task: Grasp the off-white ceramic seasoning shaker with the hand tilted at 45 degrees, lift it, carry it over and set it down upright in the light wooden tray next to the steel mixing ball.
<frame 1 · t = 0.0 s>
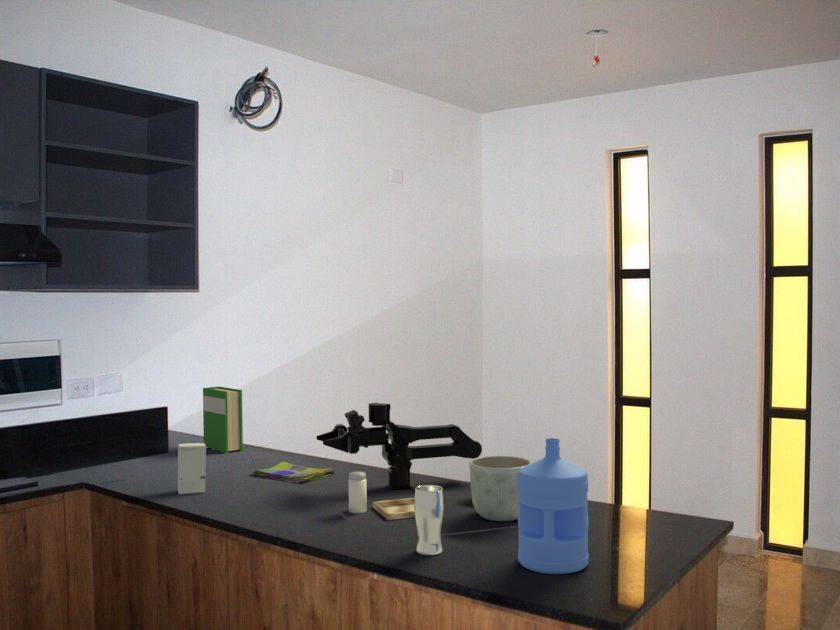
hand: (319, 440, 245), 17 cm above the counter, tool horizontal, fingers open, 9 cm apart
water jug: (553, 564, 180), on the counter
ball: (420, 512, 221), resting on tray
hardback book: (223, 449, 319), on the counter
beer glass: (429, 552, 190), on the counter
skincare box: (192, 492, 250), on the counter
dish towel: (293, 476, 272), on the counter
planter: (500, 518, 218), on the counter
shaker: (357, 512, 224), on the counter
tray: (404, 512, 223), on the counter
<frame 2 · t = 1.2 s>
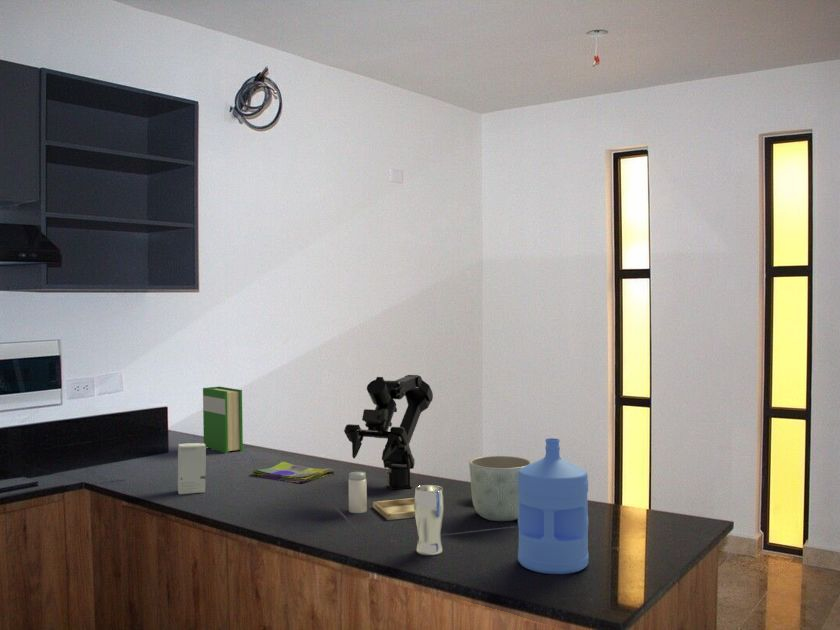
hand: (367, 458, 231), 14 cm above the counter, tool tilted 45°, fingers open, 9 cm apart
nothing on the counter moved.
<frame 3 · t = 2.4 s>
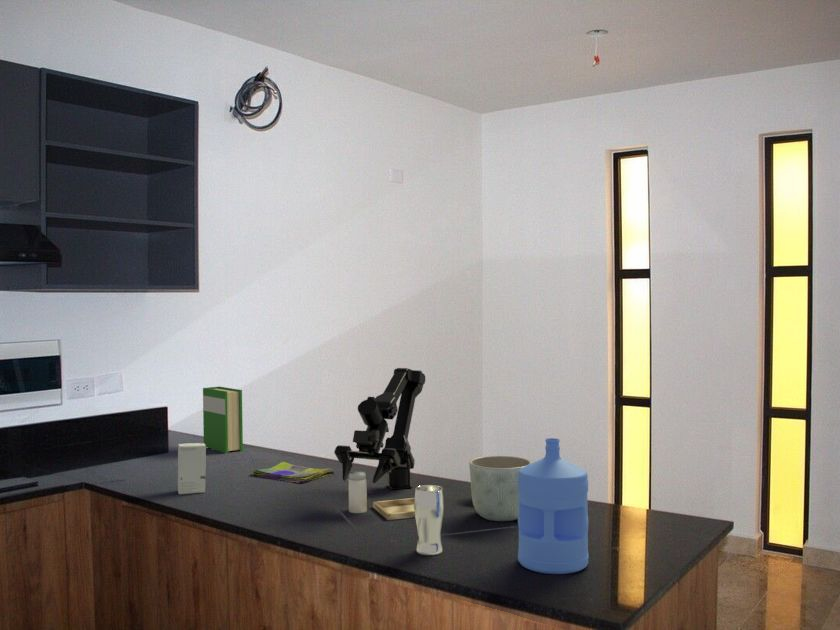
hand: (358, 481, 225), 9 cm above the counter, tool tilted 45°, fingers open, 9 cm apart
nothing on the counter moved.
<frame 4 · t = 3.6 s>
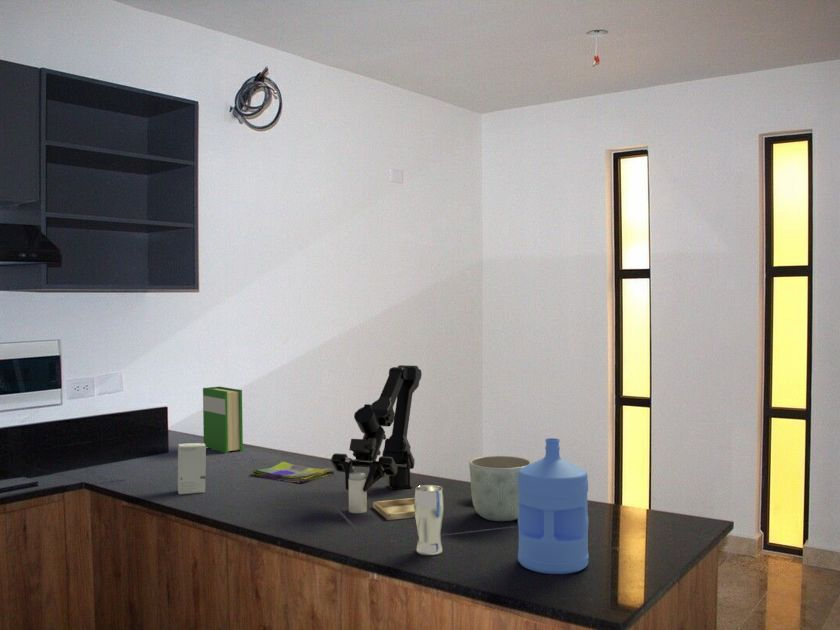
hand: (355, 490, 223), 7 cm above the counter, tool tilted 45°, fingers closed on shaker, 5 cm apart
shaker: (357, 512, 224), on the counter, touching gripper
everything else where it was.
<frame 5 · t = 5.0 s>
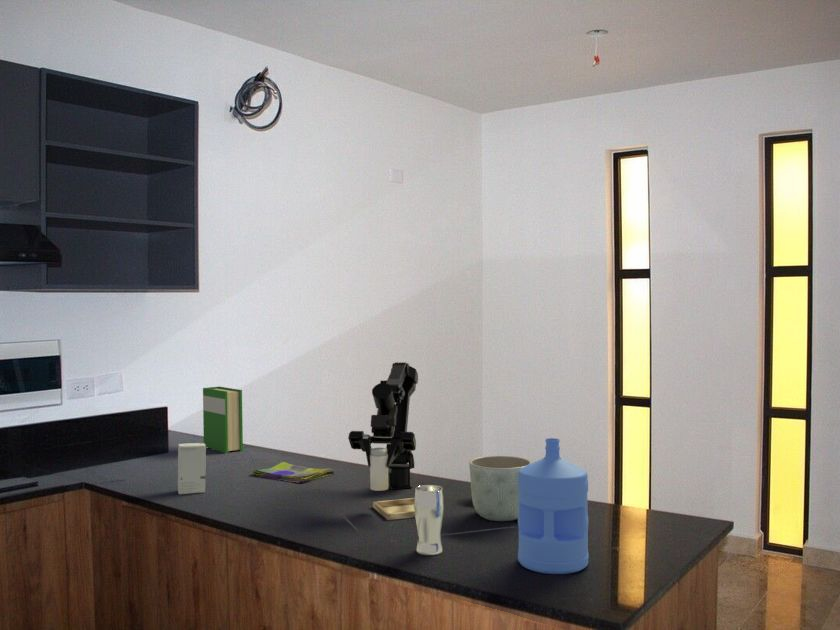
hand: (378, 466, 222), 13 cm above the counter, tool tilted 45°, fingers closed on shaker, 5 cm apart
shaker: (379, 488, 224), point 7 cm above the counter, touching gripper
everything else where it was.
when the fingers open (8 cm above the counter, at t = 6.6 s): shaker drops 1 cm, resting on tray.
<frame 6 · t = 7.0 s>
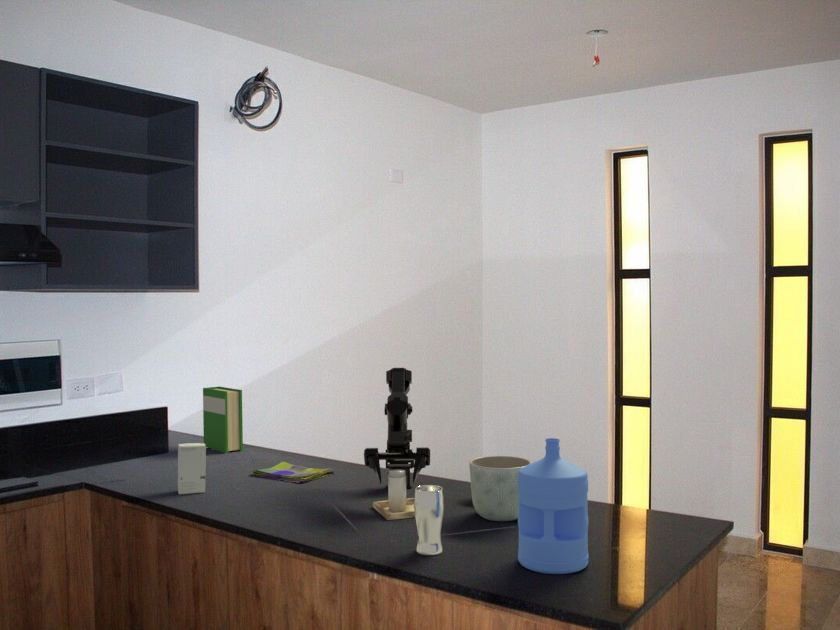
hand: (397, 482, 223), 9 cm above the counter, tool tilted 45°, fingers open, 9 cm apart
shaker: (397, 510, 224), point 1 cm above the counter, touching tray
everything else where it was.
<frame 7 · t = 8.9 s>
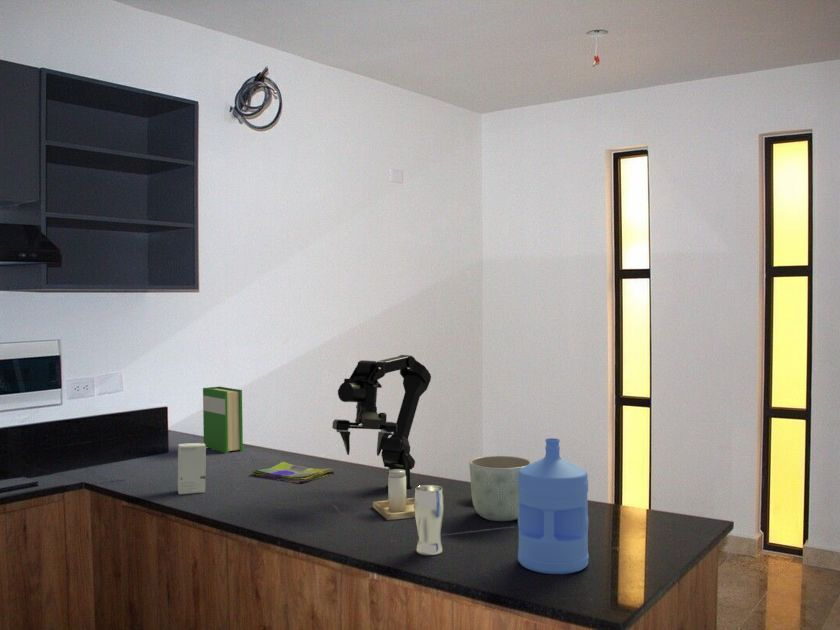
hand: (363, 455, 239), 13 cm above the counter, tool pointing down, fingers open, 9 cm apart
nothing on the counter moved.
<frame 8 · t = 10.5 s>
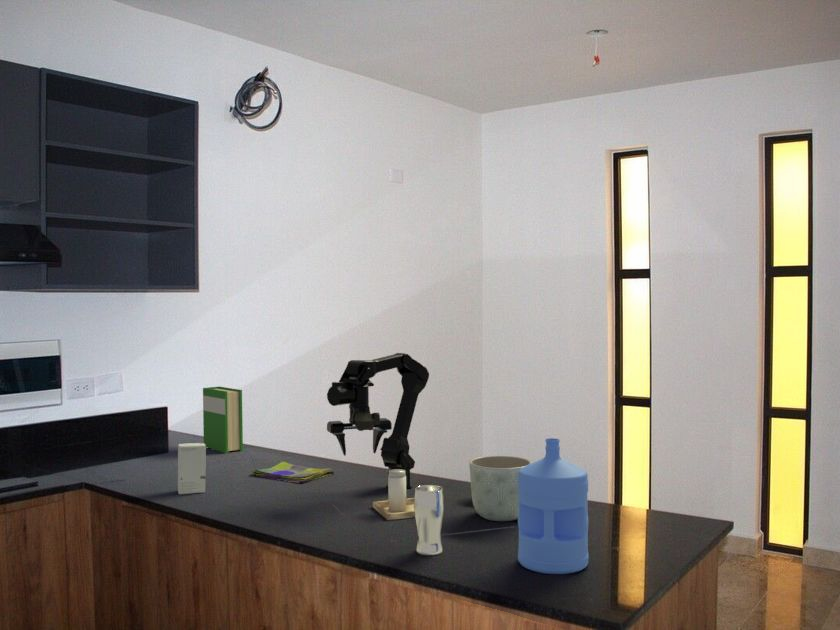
hand: (359, 454, 241), 13 cm above the counter, tool pointing down, fingers open, 9 cm apart
nothing on the counter moved.
at the end: shaker inside the target area on the tray (2.1 cm from its centre), point 0.5 cm above the tray's base; shaker tilted 0°; the gripper is holding nothing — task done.
